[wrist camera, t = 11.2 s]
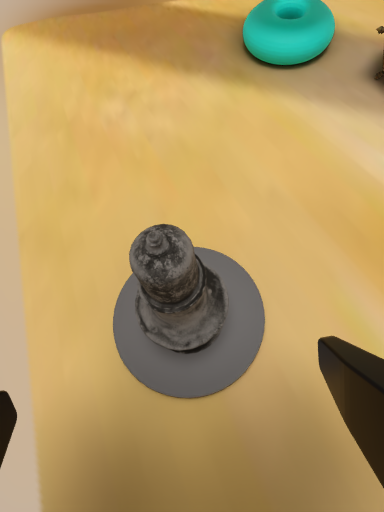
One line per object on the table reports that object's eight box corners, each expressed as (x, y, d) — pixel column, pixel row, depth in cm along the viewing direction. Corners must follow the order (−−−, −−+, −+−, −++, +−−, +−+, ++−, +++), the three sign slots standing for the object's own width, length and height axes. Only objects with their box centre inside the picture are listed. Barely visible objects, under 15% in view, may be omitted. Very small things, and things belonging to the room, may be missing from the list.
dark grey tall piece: (135, 344, 22) (48, 286, 11) (162, 270, 24) (112, 161, 13) (216, 369, 21) (207, 330, 10) (236, 288, 23) (247, 184, 12)
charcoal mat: (273, 395, 20) (274, 395, 20) (109, 400, 21) (106, 400, 20) (254, 247, 25) (255, 242, 24) (122, 255, 26) (119, 251, 25)
